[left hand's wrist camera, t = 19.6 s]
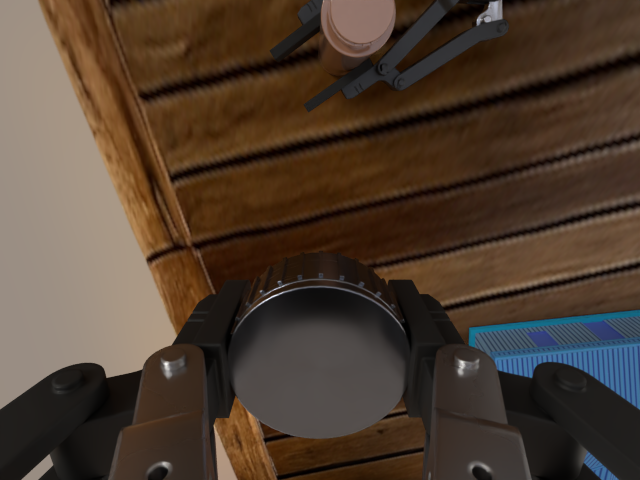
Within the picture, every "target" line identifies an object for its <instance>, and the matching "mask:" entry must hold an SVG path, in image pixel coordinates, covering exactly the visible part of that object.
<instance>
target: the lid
mask: <svg viewBox="0 0 640 480" xmlns="http://www.w3.org/2000/svg"><path fill="white" fill-rule="evenodd" d="M235 320H236V321H235V323H234V326H233V328H232V331H231V333H230V334H231V339H230V342H229V345H228V350H227V361H228V371H229V379H230V384H231V387H232V389H233V391H234V393H235V395H236V396H237V398H238V399H239V401H240V402H241V404H242V405H243V406H244V407H245V408H246V409H247V411H249V412H250V413H251V414H252V415H253V416H254V417H255V418H257V419H258V420H260V421H261V422H263V423H264V424H266V425H268V426H270V427H272V428H273V429H276V430H278V431H281V432H283V433H287V434H290V435H294V436H299V437H305V438H334V437H340V436H345V435H349V434H352V433H355V432H358V431H361V430H363V429H365V428H367V427H370V426H371V425H373V424H375V423H376V422H378V421H379V420H381V419H382V418H383V417H385V416H386V415H387V414H388V413H389V412H390V411H391V410H392V409H393V408H394V407H395V406H396V405H397V403H398V402H399V401H400V400H401V398H402V396H403V394H404V393H405V391H406V389H407V386H408V377H409V368H410V358H411V346H410V342H409V339H408V337H407V334H406V332H405V329H404V326H403V323H405V321H404V318H403V316H402V313H401V311H400V308H399V306H398V303H397V301H396V298H395V296H394V293H393V291H392V292H390V291H389V289H388V286H387V284H386V281H385V279H384V278H382V279H380V277H379V276H378V275H377V274H375V272H374V270H373V268H372V267H370V268H368V267H366V266H365V265H363V264H362V263H360V262H359V260H358V259H356V258H355V259H351V258H348V257H345V256H342V255H341V253H337V254H332V253H323V251H319V253H307V254H304V252H302V253H300V255H297V256H294V257H290V258H288V259H287V257H285V258H283V261H281V262H279V263H277V264H276V265H274V266H271V265H270V266H269V267H268V268H267V271H266V272H264V273H263V274H262V275H261V276H260V278H259V277H258V276H257V277H256V278H255V281H254V283H253V286H252V288H251V290H248V289H247V291H246V294H245V296H244V299H243V301H242V303H241V306H240V308H239V311H238V313H237V316H236V318H235Z"/></svg>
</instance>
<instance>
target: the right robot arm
mask: <svg viewBox="0 0 640 480" xmlns="http://www.w3.org/2000/svg"><path fill="white" fill-rule="evenodd" d="M322 3H323V0H311V1H309V2H308V3H307V4H306V5H304V6H303V7H302V8H301V9H300V11H299V13H298V18H299V20H300V21H301V23H302V26H301V27H300V28H299V29H297V30H296V31H295V32H293V33H292V34H291V35H289V36H288V37H287V38H286V39H284V40H283V41H282V42H280V43H279V44H278V45H276V46H275V47H274V48H272V49H271V50H270V52H271V54H272V55H273V57H274V59H275V60H276V61H278V62H280V61H281V60H282V59H284V58H285V57H286V56H288V55H289V54H290V53H291V52H293V51H294V50H295V49H297V48H298V47H299V46H301V45H302V44H303V43H305V42H306V41H307V40H309V39H310V38H311V37H313V36H314V35H315V34H317V33H318V32H319V31H320V20H321V8H322ZM456 3H462V4H481V5H485V7H484V10H483V12H482V13H481V14H480V15H478V16H476V17H475V18H474V20H473V22H472V28H471V29H469V30H466V31H464V32H462V33H461V34H459V35H457V36H456V37H454V38H453V39H451V40H449V41H448V42H446V43H445V44H443V45H442V46H440V47H439V48H437V49H436V50H434V51H433V52H431V53H429V54H428V55H426V56H425V57H423V58H422V59H420V60H419V61H417V62H416V63H414V64H412V65H411V66H409V67H408V68H406V69H405V70H403V71H402V72H399V71H398V70H396V69H395V68H394V67H395V66H396V65H397V64H398V63H399V62H400V61H401V60H402V59H403V58H404V57H405V56H406V55H407V54H408V53H409V52H410V51H411V50H412V49H413V47H414V46H415V45H416V44H417V43H418V42H419V41H420V40H421V39H422V38H423V37H424V36H425V35H426V34H427V33H428V32H429V31H430V30H431V29H432V28H433V27H434V25H435V24H436V23H437V22H438V21H439V20H440V19H441V18H442V17H443V16H444V15H445V14H446V13H447V12H448V11H449V10H450V9H451V8H452V7H453V6H454V5H455V4H456ZM508 28H509V25H508V22H507V21H506V20H505V19H502V0H434V1H433V3H432V4H431V5H430V6H429V7H428V8H427V9H426V10H425V12H424V13H423V14H422V15H421V16H420V17H419V18H418V19H417V20H416V21H415V22H414V23H413V24H412V25H411V26H410V28H409V29H408V30H407V31H406V32H405V33H404V34H403V35H402V36H401V37H400V38H399V39H398V40H397V41H396V43H395V44H394V45H393V46H392V47H391V48H390V49H389V50H388V51H387V52H386V53H385V54H384V55H383V56H382V58H381V59H380V60H379V61H378V62H377V63H376V64H375V65H373V64H372V62H371V60H370V58H368V59H367V60H365V61H364V62H363V63H361V64H360V65H359V66H357V67H356V68H354V69H353V70H351V71H350V72H349V73H347V74H346V75H344V76H343V77H342V78H340V79H339V80H337V81H336V82H335V83H333V84H332V85H330V86H329V87H328V88H326V89H325V90H323V91H322V92H321V93H319V94H318V95H316V96H315V97H314V98H312V99H311V100H309V101H308V102H307V103H305V104H304V106H305V108H306V109H307V111H308V112H310V111H311V110H313V109H314V108H315V107H317V106H318V105H320V104H321V103H322V102H324V101H325V100H327V99H328V98H330V97H331V96H332V95H334V94H335V93H337V92H338V91H340V90H341V91H342V93H343V95H344V96H345V98H346V99H350V98H354V97H355V96H357V95H358V94H359V93H361V92H362V91H364V90H365V89H367V88H368V87H369V86H371V85H372V84H374V83H375V82H377V81H383V82H384V83H385V84H387V85H388V86H389V87H390V89H391V90H393V91H400V90H404V89H406V88H407V87H409V86H410V85H412V84H413V83H415V82H417V81H418V80H420V79H421V78H423V77H424V76H426V75H428V74H429V73H431V72H432V71H434V70H435V69H437V68H439V67H440V66H442V65H443V64H445V63H446V62H448V61H450V60H451V59H453V58H454V57H456V56H457V55H459V54H461V53H462V52H464V51H465V50H467V49H468V48H470V47H472V46H473V45H475V44H476V43H479V42H484V41H488V40H491V39H494V38H497V37H500V36H503V35H504V34H506V33H507V31H508Z"/></svg>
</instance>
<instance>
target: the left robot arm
mask: <svg viewBox="0 0 640 480" xmlns="http://www.w3.org/2000/svg"><path fill="white" fill-rule="evenodd" d="M247 289H248V290H251V285H250V281H249V280H226V281H225V283H224V285H223V287H222V289H221V290H220V292H219V294H210V295H208V296H207V297H206V298H204V299H203V300H201V301H200V302H199V303H198V304H197V306H196V307H195V309H194V310H193V314H191V315H190V317H189V318H188V322H186V323H185V325H184V326H183V328H182V330H181V331H180V333H179V334H178V336H177V338H176V339H175V341H174V342H173V344H172V345H171V346H168V347H165V348H163V349H161V350H159V351H157V352H155V353H154V354H153V355H151V356H150V357H149V358H148V359H147V360H146V362H145V364H144V366H143V369H142V370H139V371H137V372H132V373H128V374H123V375H119V376H114V377H109V378H106V374H105V371H104V368H103V367H102V366H100V365H98V364H95V363H80V364H75V365H71V366H68V367H65V368H62V369H60V370H58V371H56V372H54V373H52V374H50V375H49V376H47V377H46V378H44V379H43V380H41V381H40V382H39V383H37V384H36V385H34V386H33V387H31V388H30V389H29V390H27V391H26V392H24V393H23V394H22V395H20V396H19V397H17V398H16V399H15V400H13V401H12V402H10V403H9V404H7V405H6V406H5V407H3V408H2V409H0V480H21V479H22V478H23V477H25V476H26V475H27V474H28V473H29V472H30V471H31V470H32V469H33V468H34V467H35V466H37V465H38V464H39V463H40V462H41V461H42V460H43V459H44V458H45V457H46V456H47V455H49V454H50V456H51V459H52V462H53V466H52V467H51V468H50V469H49V470H48V471H47V472H46V473H45V474H44V475H43V476H42V477H41V478H40V479H39V480H218V473H217V458H216V443H215V433H214V426H213V425H214V422H215V419H216V418H229V416H230V412H231V409H232V405H233V402H234V399H235V393H234V391H233V389H232V387H231V384H230V379H229V371H228V361H227V350H228V345H229V342H230V339H231V334H230V333H231V331H232V328H233V326H234V323H235V321H236V320H235V318H236V316H237V313H238V311H239V308H240V306H241V303H242V301H243V299H244V296H245V294H246V291H247ZM388 289H389V291H390V292H392V291H393V293H394V296H395V298H396V301H397V303H398V306H399V308H400V311H401V313H402V316H403V318H404V321H405V323H403V326H404V329H405V332H406V334H407V337H408V339H409V342H410V346H411V358H410V368H409V377H408V386H407V389H406V391H405V393H404V394H403V399H404V402H405V406H406V409H407V413H408V416H409V417H422V421H423V424H424V427H425V429H426V433H425V443H424V458H423V473H422V480H601V479H600V478H599V477H598V476H597V475H596V474H595V473H594V472H593V471H592V470H591V469H590V468H589V467H588V466H587V465H586V464H585V463H584V460H585V457H586V454H587V451H588V452H589V453H590V454H591V455H593V456H594V457H595V458H596V459H597V460H598V461H599V462H600V463H601V464H602V465H603V466H604V467H606V468H607V469H608V470H609V471H610V472H611V473H612V474H613V475H614V476H615V477H616V478H618V479H619V480H640V409H638V408H637V407H635V406H634V405H633V404H631V403H630V402H628V401H627V400H626V399H624V398H623V397H621V396H620V395H618V394H617V393H616V392H614V391H613V390H611V389H610V388H609V387H607V386H606V385H604V384H603V383H601V382H600V381H599V380H597V379H596V378H594V377H593V376H591V375H590V374H588V373H587V372H585V371H583V370H581V369H579V368H576V367H574V366H571V365H568V364H564V363H559V362H543V363H540V364H538V365H537V366H536V367H535V369H534V372H533V376H532V378H530V377H526V376H521V375H516V374H512V373H507V372H503V371H499V370H497V366H496V364H495V362H494V360H493V359H492V358H491V357H490V356H489V355H488V354H486V353H485V352H483V351H481V350H479V349H477V348H475V347H472V346H469V345H466V344H465V343H464V341H463V340H462V338H461V336H460V335H459V333H458V331H457V330H456V328H455V327H454V325H453V323H452V322H451V321H450V319H449V317H448V315H447V314H446V313H445V310H444V309H443V307H442V306H441V304H440V302H438V301H437V300H436V299H434V298H433V297H431V296H430V295H429V294H419V292H418V290H417V288H416V287H415V285H414V283H413V281H412V280H389V281H388Z"/></svg>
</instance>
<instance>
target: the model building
mask: <svg viewBox="0 0 640 480" xmlns="http://www.w3.org/2000/svg"><path fill="white" fill-rule="evenodd" d="M469 346H472V347H475V348H477V349H479V350H481V351H483V352H485V353H486V354H488V355H489V356H490V357H491V358H492V359H493V360H494V362H495V364H496V366H497V370H499V371H503V372H507V373H512V374H516V375H521V376H526V377H530V378H532V376H533V372H534V369H535V367H536V366H537V365H538V364H540V363H543V362H559V363H564V364H568V365H571V366H574V367H576V368H579V369H581V370H583V371H585V372H587V373H588V374H590V375H591V376H593V377H594V378H596V379H597V380H599V381H600V382H601V383H603V384H604V385H606V386H607V387H609V388H610V389H611V390H613V391H614V392H616V393H617V394H618V395H620V396H621V397H623V398H624V399H626V400H627V401H628V402H630V403H631V404H633V405H634V406H635V407H637V408H638V409H640V310H633V311H623V312H614V313H604V314H595V315H585V316H576V317H566V318H557V319H547V320H538V321H528V322H519V323H509V324H500V325H490V326H480V327H471V328H469ZM584 463H585V464H586V465H587V466H588V467H589V468H590V469H591V470H592V471H593V472H594V473H595V474H596V475H597V476H598V477H599V478H600V479H601V480H619V479H618V478H616V477H615V476H614V475H613V474H612V473H611V472H610V471H609V470H608V469H607V468H606V467H604V466H603V465H602V464H601V463H600V462H599V461H598V460H597V459H596V458H595V457H594V456H593V455H591V454H590V453H589V452H588V451H587V454H586V457H585V460H584Z"/></svg>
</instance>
